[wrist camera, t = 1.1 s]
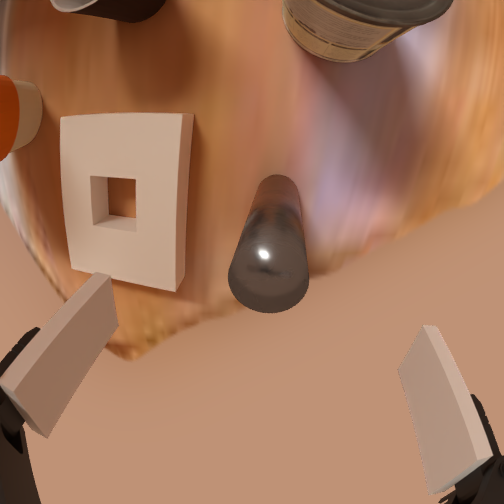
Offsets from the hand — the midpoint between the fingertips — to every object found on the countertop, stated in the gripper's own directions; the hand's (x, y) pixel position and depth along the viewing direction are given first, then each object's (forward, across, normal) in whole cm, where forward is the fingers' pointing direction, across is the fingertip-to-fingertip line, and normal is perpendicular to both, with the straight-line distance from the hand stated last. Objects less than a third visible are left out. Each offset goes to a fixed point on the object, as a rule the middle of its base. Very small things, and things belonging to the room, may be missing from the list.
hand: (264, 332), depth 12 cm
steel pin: (+20, 0, 0) cm, 20 cm away
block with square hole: (+20, -16, -2) cm, 25 cm away
